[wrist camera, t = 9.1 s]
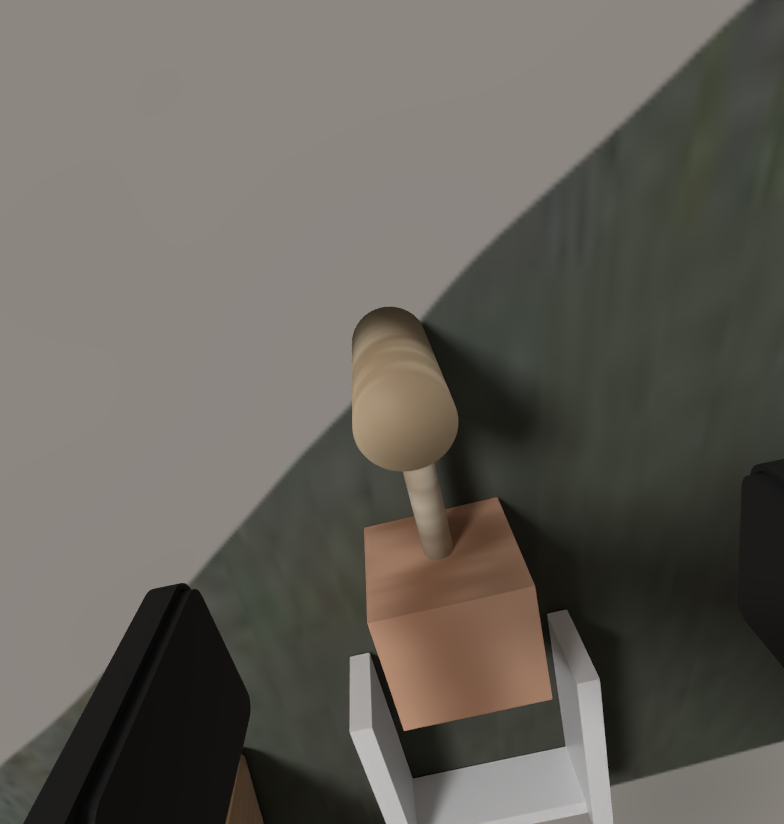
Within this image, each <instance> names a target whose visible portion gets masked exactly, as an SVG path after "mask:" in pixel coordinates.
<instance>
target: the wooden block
mask: <svg viewBox="0 0 784 824" xmlns="http://www.w3.org/2000/svg"><path fill="white" fill-rule="evenodd" d="M225 824H264V823H263V819H262V816H261V812H260V808H259V805H258V801H257V798H256V794H255V791H254V787H253V784H252V780H251V777H250V773H249V770H248V766H247V762H246V759H245V756H244V755H242V754H241V757H240V762H239V766H238V771H237V775H236V779H235V784H234V788H233V792H232V797H231V801H230V806H229V810H228V814H227V819H226V823H225Z"/></svg>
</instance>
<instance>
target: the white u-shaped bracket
mask: <svg viewBox="0 0 784 824" xmlns="http://www.w3.org/2000/svg"><path fill="white" fill-rule="evenodd" d="M547 618H548V625H549V632H550V639H551V646H552V653H553V660H554V667H555V674H556V681H557V688H558V695H559V702H560V709H561V716H562V723H563V730H564V737H565V744H566V747H561V748H556V749H551V750H547V751H542V752H537V753H532V754H527V755H523V756H518V757H513V758H508V759H504V760H499V761H494V762H489V763H485V764H480V765H475V766H470V767H465V768H461V769H456V770H451V771H446V772H442V773H437V774H432V775H427V776H423V777H418V778H412V775H411V772H410V769H409V766H408V763H407V760H406V757H405V755H404V752H403V749H402V746H401V743H400V740H399V737H398V734H397V731H396V728H395V725H394V723H393V720H392V717H391V714H390V711H389V708H388V705H387V702H386V699H385V696H384V693H383V691H382V688H381V685H380V682H379V679H378V676H377V673H376V670H375V667H374V664H373V661H372V659H371V656H370V653H365V654H361V655H356V656H352V657H350V735H351V737H352V740H353V742H354V744H355V747H356V749H357V752H358V754H359V757H360V759H361V762H362V764H363V767H364V769H365V772H366V774H367V777H368V779H369V782H370V784H371V787H372V789H373V792H374V794H375V797H376V799H377V802H378V804H379V807H380V809H381V812H382V814H383V817H384V819H385V822H386V824H534V823H539V822H544V821H549V820H554V819H559V818H563V817H569V816H574V815H578V814H583V813H589V816H590V819H591V821H592V824H613V817H612V805H611V795H610V784H609V773H608V762H607V751H606V741H605V730H604V719H603V708H602V697H601V687H600V678H599V676H598V674H597V672H596V670H595V668H594V666H593V664H592V661H591V659H590V657H589V655H588V653H587V651H586V649H585V647H584V645H583V642H582V640H581V638H580V636H579V634H578V632H577V630H576V628H575V626H574V623H573V621H572V619H571V617H570V615H569V613H568V611H567V610H562V611H557V612H553V613H548V614H547Z"/></svg>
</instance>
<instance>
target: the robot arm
mask: <svg viewBox="0 0 784 824" xmlns="http://www.w3.org/2000/svg"><path fill="white" fill-rule="evenodd" d="M738 603H739V607H740V610H741V613H742V615H743V617H744V619H745V620H746V622H747V623H748V624H749V626H750V627H751V628H752V629H753V631H754V632H755V633H756V634H757V635H758V637H759V638H760V639H761V640H762V641H763V643H764V644H765V645H766V646H767V648H768V649H769V650H770V651H771V652H772V654H773V655H774V656H775V657H776V659H777V660H778V661H779V662H780V663H781V665H782V666H783V667H784V459H782V460H777V461H772V462H767V463H763V464H758V465H756V466H754V467H753V468H752V470H751V474H750V475H749V476H746V477H744V479H743V482H742V498H741V527H740V556H739V585H738ZM249 718H250V699H249V695H248V692H247V690H246V688H245V686H244V684H243V681H242V679H241V677H240V675H239V673H238V671H237V669H236V667H235V665H234V662H233V660H232V658H231V656H230V654H229V652H228V650H227V648H226V646H225V643H224V641H223V639H222V637H221V635H220V633H219V631H218V629H217V627H216V624H215V622H214V620H213V618H212V616H211V614H210V612H209V610H208V608H207V605H206V603H205V601H204V599H203V597H202V595H201V593H200V592H199V591H198V590H197V589H193V590H191V589H190V587H189V586H188V585H187V584H185V583H180V584H175V585H170V586H166V587H161V588H156V589H152V590H150V591H149V592H148V593H147V594H146V596H145V598H144V599H143V601H142V603H141V605H140V607H139V609H138V611H137V613H136V614H135V616H134V618H133V620H132V622H131V624H130V626H129V627H128V629H127V631H126V633H125V635H124V637H123V639H122V640H121V642H120V644H119V646H118V648H117V650H116V652H115V654H114V656H113V657H112V659H111V661H110V663H109V665H108V667H107V668H106V670H105V672H104V674H103V676H102V678H101V680H100V682H99V683H98V685H97V687H96V689H95V691H94V693H93V695H92V696H91V698H90V700H89V702H88V704H87V706H86V708H85V709H84V711H83V713H82V715H81V717H80V719H79V721H78V723H77V724H76V726H75V728H74V730H73V732H72V734H71V736H70V737H69V739H68V741H67V743H66V745H65V747H64V749H63V751H62V752H61V754H60V756H59V758H58V760H57V762H56V764H55V765H54V767H53V769H52V771H51V773H50V775H49V777H48V778H47V780H46V782H45V784H44V786H43V788H42V790H41V792H40V793H39V795H38V797H37V799H36V801H35V803H34V805H33V806H32V808H31V810H30V812H29V814H28V816H27V818H26V820H25V821H24V823H23V824H225V823H226V819H227V814H228V810H229V806H230V801H231V797H232V792H233V788H234V784H235V779H236V775H237V771H238V766H239V762H240V757H241V753H242V749H243V744H244V740H245V735H246V731H247V727H248V722H249Z"/></svg>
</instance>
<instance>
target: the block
mask: <svg viewBox="0 0 784 824" xmlns="http://www.w3.org/2000/svg"><path fill="white" fill-rule="evenodd" d="M352 427H353V435H354V439H355V441H356V444H357V446H358V448H359V449H360V451H361V452H362V453H363V455H364V456H365V457H366V458H367V459H369V460H370V461H371V462H372V463H374V464H376V465H378V466H380V467H382V468H385V469H388V470H392V471H402V472H403V474H404V478H405V482H406V486H407V490H408V493H409V497H410V501H411V505H412V509H413V513H414V516H413V517H409V518H404V519H400V520H396V521H391V522H387V523H383V524H378V525H374V526H370V527H365V528H364V537H365V566H366V595H367V624H368V627H369V629H370V632H371V635H372V638H373V641H374V644H375V647H376V650H377V653H378V656H379V659H380V662H381V665H382V668H383V671H384V674H385V676H386V679H387V682H388V685H389V688H390V691H391V694H392V697H393V700H394V703H395V706H396V709H397V712H398V715H399V718H400V721H401V723H402V726H403V729H404V731H407V730H412V729H416V728H421V727H425V726H430V725H435V724H439V723H444V722H449V721H453V720H458V719H463V718H467V717H472V716H477V715H481V714H486V713H490V712H495V711H500V710H504V709H509V708H514V707H518V706H523V705H528V704H532V703H537V702H542V701H546V700H551V699H552V693H551V687H550V680H549V674H548V667H547V661H546V654H545V648H544V641H543V635H542V628H541V622H540V615H539V609H538V602H537V596H536V589H535V585H534V582H533V580H532V578H531V575H530V573H529V571H528V568H527V566H526V564H525V561H524V559H523V556H522V554H521V552H520V549H519V547H518V545H517V542H516V540H515V538H514V535H513V533H512V530H511V528H510V526H509V523H508V521H507V519H506V516H505V514H504V512H503V509H502V507H501V505H500V502H499V500H498V497H496V498H491V499H487V500H483V501H478V502H474V503H470V504H465V505H461V506H457V507H452V508H448V509H445V508H444V503H443V499H442V495H441V490H440V486H439V481H438V477H437V473H436V468H435V464H434V463H435V462H436V461H437V460H439V459H440V458H441V457H442V456H443V455H445V453H446V452H447V451H448V450H449V449H450V447H451V445H452V444H453V442H454V440H455V437H456V434H457V430H458V413H457V410H456V406H455V404H454V402H453V399H452V397H451V394H450V392H449V389H448V387H447V385H446V382H445V380H444V377H443V375H442V372H441V370H440V367H439V365H438V363H437V360H436V358H435V355H434V353H433V350H432V348H431V346H430V343H429V341H428V338H427V336H426V333H425V331H424V329H423V326H422V325H421V323H420V321H419V320H418V319H417V318H416V317H415V316H414V315H413V314H411V313H410V312H408V311H406V310H404V309H401V308H397V307H382V308H379V309H375V310H373V311H371V312H370V313H368V314H367V315H365V316H364V317H363V318H362V319H361V320H360V322H359V323H358V324H357V326H356V328H355V331H354V334H353V338H352Z"/></svg>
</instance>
